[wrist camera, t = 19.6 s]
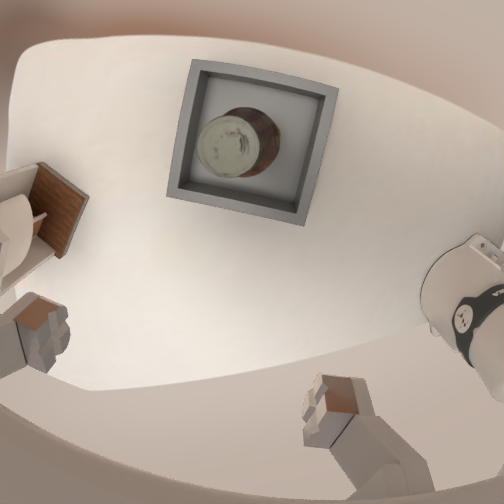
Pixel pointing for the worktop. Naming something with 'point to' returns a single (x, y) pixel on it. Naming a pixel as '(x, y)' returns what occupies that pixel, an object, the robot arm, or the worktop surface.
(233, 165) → the sauce bottle
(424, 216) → the worktop surface
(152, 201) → the worktop surface
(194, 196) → the box
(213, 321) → the worktop surface
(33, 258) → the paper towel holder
